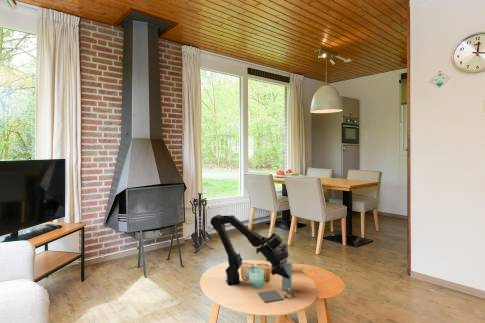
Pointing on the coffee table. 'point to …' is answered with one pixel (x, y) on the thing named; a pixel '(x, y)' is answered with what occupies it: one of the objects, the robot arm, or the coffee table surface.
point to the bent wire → (289, 293)
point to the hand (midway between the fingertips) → (289, 276)
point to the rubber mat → (270, 296)
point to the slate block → (286, 282)
